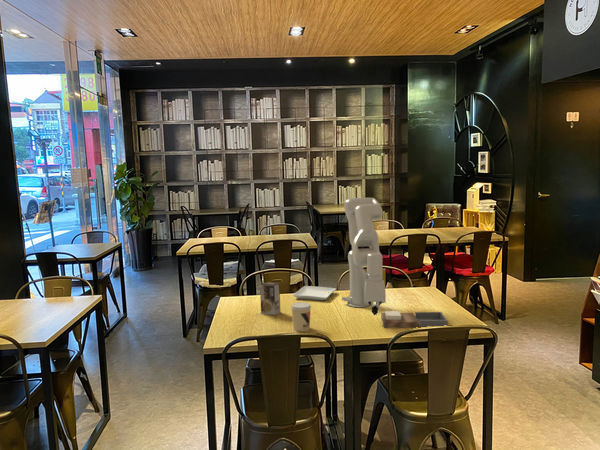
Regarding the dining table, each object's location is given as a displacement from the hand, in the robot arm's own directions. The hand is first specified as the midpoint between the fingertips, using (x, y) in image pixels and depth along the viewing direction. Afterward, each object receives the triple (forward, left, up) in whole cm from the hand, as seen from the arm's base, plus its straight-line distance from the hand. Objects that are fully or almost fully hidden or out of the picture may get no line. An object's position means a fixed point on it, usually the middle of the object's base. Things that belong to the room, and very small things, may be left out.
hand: (374, 314), depth 236 cm
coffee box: (-54, +17, -5) cm, 57 cm away
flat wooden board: (+12, 0, -5) cm, 13 cm away
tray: (+27, 0, -5) cm, 28 cm away
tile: (+9, 0, -2) cm, 9 cm away
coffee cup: (-36, -8, -5) cm, 37 cm away
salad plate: (-31, +50, -5) cm, 60 cm away
